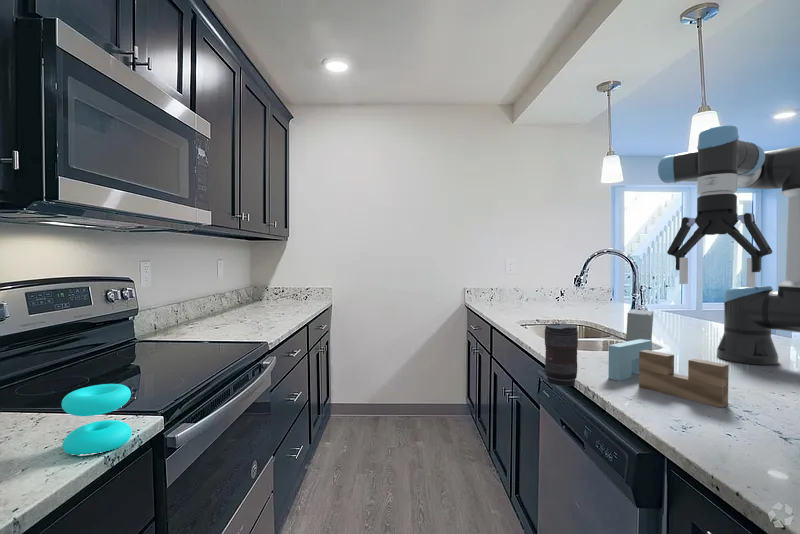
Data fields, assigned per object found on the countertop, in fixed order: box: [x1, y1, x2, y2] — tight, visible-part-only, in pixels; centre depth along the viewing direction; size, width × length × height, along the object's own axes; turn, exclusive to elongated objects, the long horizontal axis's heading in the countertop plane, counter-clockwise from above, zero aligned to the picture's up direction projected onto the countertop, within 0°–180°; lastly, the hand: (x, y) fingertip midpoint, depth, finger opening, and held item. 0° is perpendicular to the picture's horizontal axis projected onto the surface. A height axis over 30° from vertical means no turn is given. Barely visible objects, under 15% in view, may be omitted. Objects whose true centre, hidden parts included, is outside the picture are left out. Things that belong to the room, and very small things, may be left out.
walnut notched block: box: [638, 350, 730, 409], centre depth 102 cm, size 3×18×9 cm, turn 32°
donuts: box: [61, 383, 133, 455], centre depth 76 cm, size 10×10×10 cm
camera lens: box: [544, 322, 579, 387], centre depth 113 cm, size 8×8×15 cm
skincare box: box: [625, 309, 654, 342], centre depth 135 cm, size 8×7×16 cm
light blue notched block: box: [607, 339, 653, 382], centre depth 120 cm, size 16×3×9 cm, turn 122°
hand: (715, 285), depth 102 cm, fingers open, 13 cm apart
